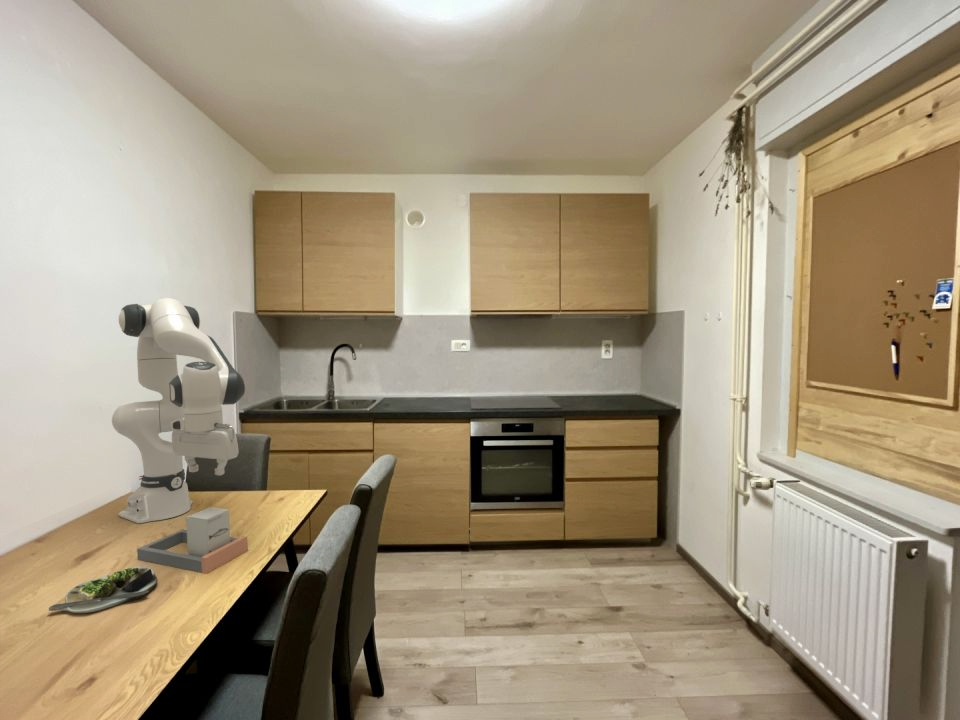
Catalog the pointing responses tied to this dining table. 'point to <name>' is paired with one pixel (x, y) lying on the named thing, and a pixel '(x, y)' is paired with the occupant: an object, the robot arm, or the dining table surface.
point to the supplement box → (207, 531)
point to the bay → (199, 564)
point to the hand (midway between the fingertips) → (206, 473)
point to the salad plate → (109, 590)
